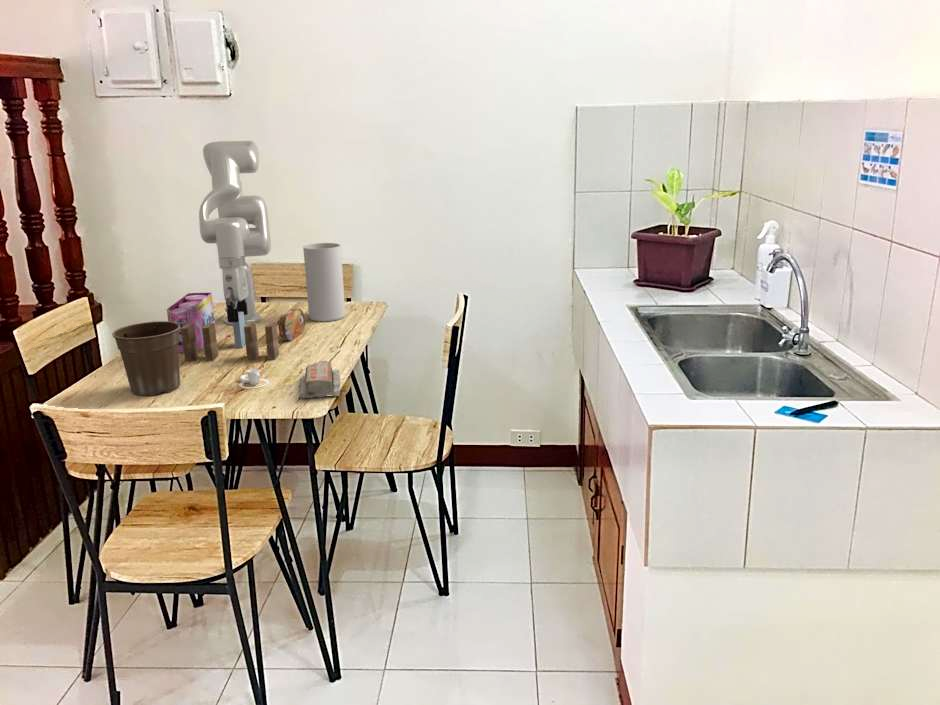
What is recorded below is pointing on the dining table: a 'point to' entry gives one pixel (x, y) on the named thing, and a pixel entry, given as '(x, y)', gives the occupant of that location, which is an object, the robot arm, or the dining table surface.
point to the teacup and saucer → (252, 379)
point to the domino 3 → (239, 331)
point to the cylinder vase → (324, 281)
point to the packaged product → (320, 380)
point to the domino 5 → (272, 340)
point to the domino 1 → (189, 342)
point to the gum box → (192, 315)
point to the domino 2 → (210, 341)
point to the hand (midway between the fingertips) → (238, 318)
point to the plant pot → (150, 356)
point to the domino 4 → (251, 340)
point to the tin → (291, 324)
